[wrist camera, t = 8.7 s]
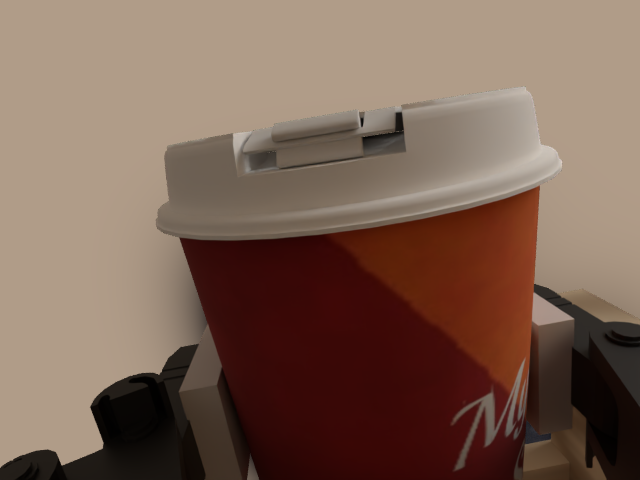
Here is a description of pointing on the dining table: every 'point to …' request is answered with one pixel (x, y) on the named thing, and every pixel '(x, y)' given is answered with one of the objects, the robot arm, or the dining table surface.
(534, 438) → the dining table surface
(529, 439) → the dining table surface
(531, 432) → the dining table surface
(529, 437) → the dining table surface
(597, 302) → the oak rack
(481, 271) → the paper cup
